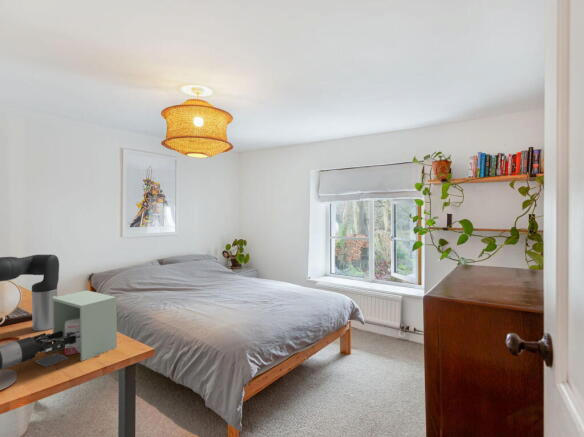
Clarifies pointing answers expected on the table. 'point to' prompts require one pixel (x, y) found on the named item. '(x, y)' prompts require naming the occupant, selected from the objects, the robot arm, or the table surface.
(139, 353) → the table surface
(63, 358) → the coaster
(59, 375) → the table surface
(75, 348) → the ink box
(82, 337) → the cubby
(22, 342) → the robot arm
